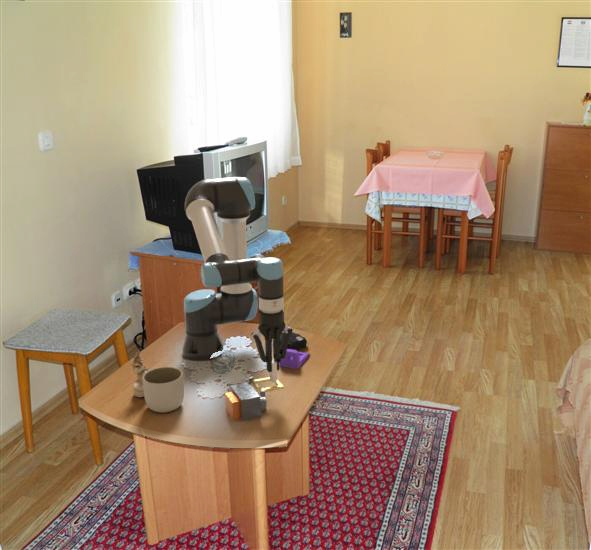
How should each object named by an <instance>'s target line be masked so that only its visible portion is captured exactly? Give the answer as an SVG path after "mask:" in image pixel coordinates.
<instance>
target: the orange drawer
mask: <svg viewBox="0 0 591 550" xmlns="http://www.w3.org/2000/svg"><path fill="white" fill-rule="evenodd" d="M224 395H225V397H224V398H225V410H226V412H227V413H228V415H229V416H230V418H231V420H232V421H239V420H241V412H240V401H239V399H238V398H237V397H236V395H235V394H234V393H233V391H232V392H231V391H229V392H228V391H227V392H225V393H224ZM263 411H267V398H266V397H262V398H261V412H263Z"/></svg>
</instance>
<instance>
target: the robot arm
mask: <svg viewBox="0 0 591 550" xmlns="http://www.w3.org/2000/svg"><path fill="white" fill-rule="evenodd" d="M255 208H256V199H255V193H254V189H253V185H252V184H251V181H250V179H249V178H247V177H246V176H244V177H243V176H242V177H241V176H231V177H222V178H221V177H220V178H205V179H202V180H200V181H198V182H196V183H195V184H194V185H193V186H192V187H191V188H190V189H189V190H188V192H187V195H186V197H185V201H184V211H185V215H186V217H187V218H188V220H190V221H191V223H192V227H193V229H194V233H195V236H196V240H197V243H198V246H199V249H200V252H201V256H202V258H203V261H204V263H202V264H201V265H200V277H201V283H202V284H203V286H204V287H205V289H198V290H194V291H192V292H190V293H189V294H187V295H186V296H185V297H184V299H183V312H184V322H185V326H184V327H185V336H184V337H185V338H184V341H183V345H182V356H183V358H185V359H187V360H190V361H198V362H199V361H200V362H202V361H210V360H211V359H210V357H211V355H212V354H213V353H215V352H218V351H222V350H223V349H224V344H223V341H222V338H221V336H220V334H219V331H218V329H219V328H218V326H219V325H228V324H234V323H244V322H247V321H251V320H254V319H255V317H256V315H257V313H258V318H259V319H258V321H259V322H258V323H259V324H258V327H257V330H256V331H255V332H251V337H252V338H253V339H254V342H255V345H256V349H257V353H258V354H259V358H260V360H261V361H262V362H263V363H265V364H266V371H267V373H269V376H268V377H270V380H271V381H270V382H272V383H275V382H277V380H278V371H280V367H281V366H280V362H281V360H280V359H282V358H283V359H284V358H285V356H286V351H287V346H288V342H289V337H290V335H291V333H292V332H293V331H294V330H293V328H292V327H291V326H289V325H286V323H285V309H284V308H285V302H284V300H285V298H284V293H285V292H284V265H283V264H284V263H283V261H282V259H280V258H277V257H272V256H271V257H270V256H269V257H266V256H265V255H263V254H261V253H253V254H252V255H250V256H249V257H248V245H247V244H248V243H247V242H248V240H247V220H248V219H249V217H250V216H251V211H253V210H254V209H255ZM214 213H216V217H217V218H218V219H219V220H220V221H221V232H222V233H221V232H220V229H219V227H218V223H217V221H216V218H215V215H214ZM252 283H257V289H258V291H256V290H255V289H254V288H253V285H252ZM219 287H220V292H217V293H216V291H215V290H214V289H210V288H219ZM206 288H209V289H206ZM257 292H258V293H257ZM258 309H259V311H258ZM282 332H283V336H282V341H281V346H280V335H281V333H282ZM261 335H262V336H263V337H264V346H265V347H263V343H262V340H261ZM264 348H265V349H264Z"/></svg>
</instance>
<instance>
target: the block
mask: <svg viewBox="0 0 591 550" xmlns="http://www.w3.org/2000/svg"><path fill="white" fill-rule="evenodd" d="M254 378H255V376H249V377H248V381H245V382H240V383H235V384H230V392H232V391H233V393H234V394H235V395H236V397H237V398H238V399H239V401H240V412H241V419H240V420H241V421H242V422H246V421H251V420H255V419H258V418H259V419H260V418H262V411H261V398H262V397H264V398H266V392H265V390H260V392H258V390H256V389H255V387H254V386H253V384H252V383H251V380H255V379H254Z"/></svg>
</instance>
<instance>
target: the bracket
mask: <svg viewBox="0 0 591 550" xmlns="http://www.w3.org/2000/svg"><path fill="white" fill-rule="evenodd" d="M309 355H311V353H308V352H302V351H299V350H298V351H297V350H292V349H287V351H286V356H285V358H284V359H283V358H282V359H280V360H281V362H279V366H280V367H285V368H291V369H297V370H299V368H300V367H301V366H302V365H303V363H305V361H306V360H308V358H309V357H310V356H309Z"/></svg>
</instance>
